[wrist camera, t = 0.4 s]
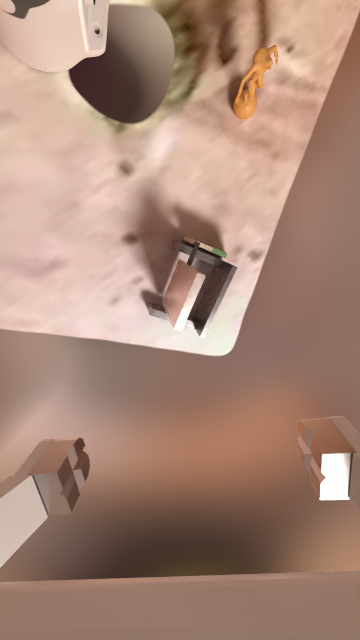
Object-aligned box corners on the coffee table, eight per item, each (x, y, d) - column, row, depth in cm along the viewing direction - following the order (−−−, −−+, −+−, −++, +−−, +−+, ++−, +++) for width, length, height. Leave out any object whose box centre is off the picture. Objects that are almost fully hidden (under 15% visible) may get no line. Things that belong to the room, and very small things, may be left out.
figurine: (229, 137, 46) (262, 112, 35) (209, 104, 43) (238, 68, 32) (263, 102, 45) (307, 66, 34) (245, 67, 42) (287, 16, 32)
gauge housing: (176, 231, 50) (185, 234, 43) (225, 253, 54) (241, 258, 47) (147, 308, 55) (151, 322, 48) (194, 322, 59) (204, 337, 52)
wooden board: (187, 237, 49) (209, 245, 37) (193, 240, 50) (217, 248, 37) (161, 302, 53) (173, 328, 41) (168, 304, 54) (181, 330, 41)
